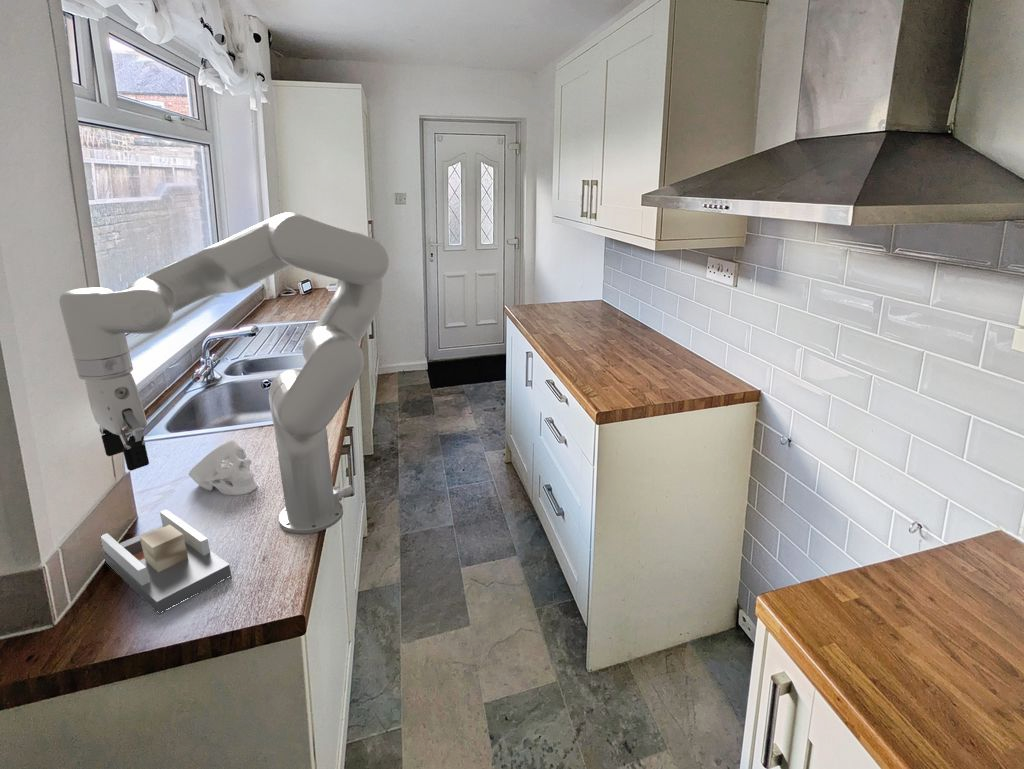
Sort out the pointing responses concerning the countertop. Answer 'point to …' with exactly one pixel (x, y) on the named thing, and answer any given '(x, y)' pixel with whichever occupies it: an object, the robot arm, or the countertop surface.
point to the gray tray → (174, 580)
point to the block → (164, 548)
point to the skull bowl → (225, 470)
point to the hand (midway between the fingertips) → (127, 459)
